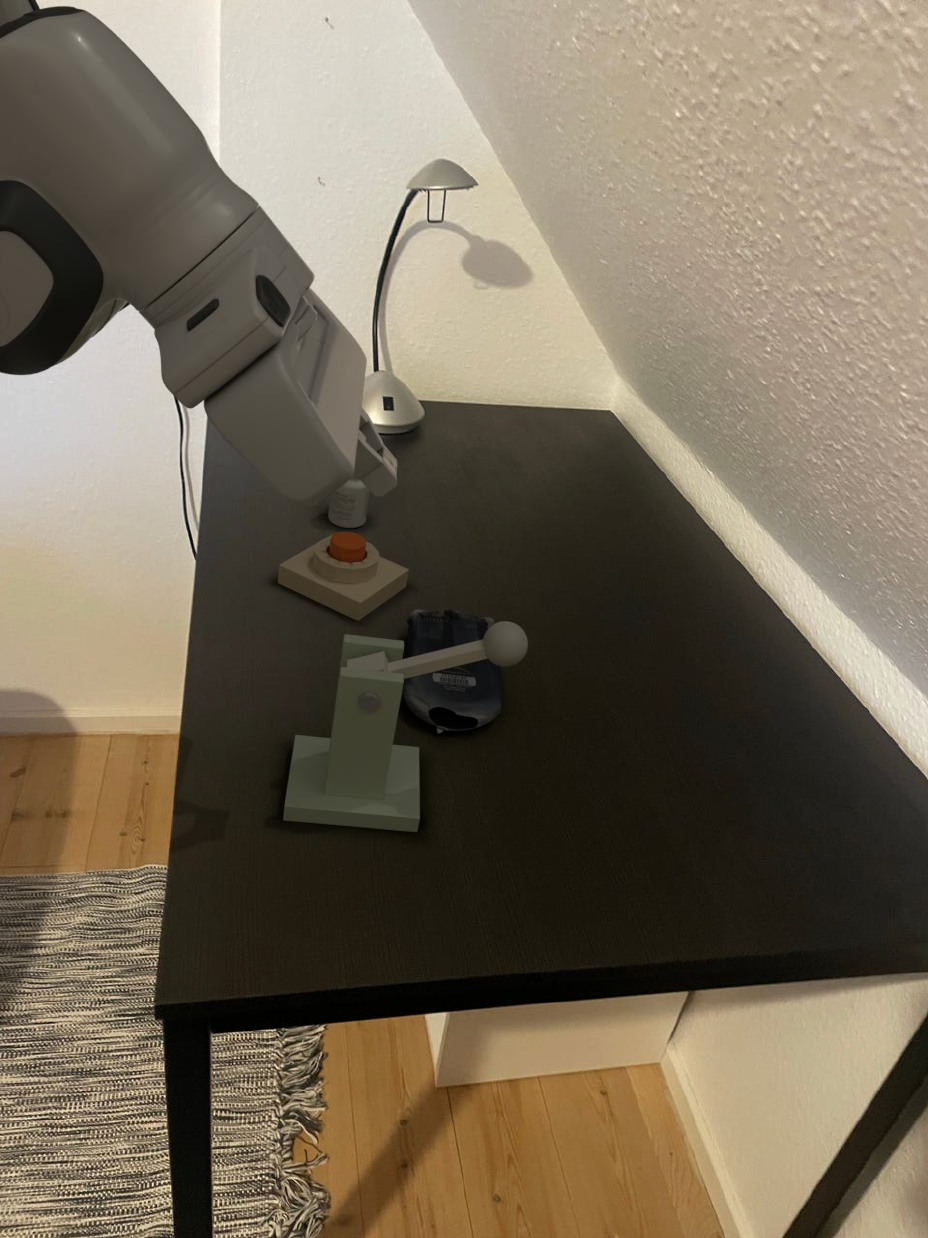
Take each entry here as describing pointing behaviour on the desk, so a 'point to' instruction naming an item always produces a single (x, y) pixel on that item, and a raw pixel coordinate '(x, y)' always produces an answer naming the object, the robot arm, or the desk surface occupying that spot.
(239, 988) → the desk surface
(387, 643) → the switch base
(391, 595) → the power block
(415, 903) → the desk surface
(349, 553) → the power button
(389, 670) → the switch lever
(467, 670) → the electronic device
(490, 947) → the desk surface
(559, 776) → the desk surface
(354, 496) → the pill bottle
